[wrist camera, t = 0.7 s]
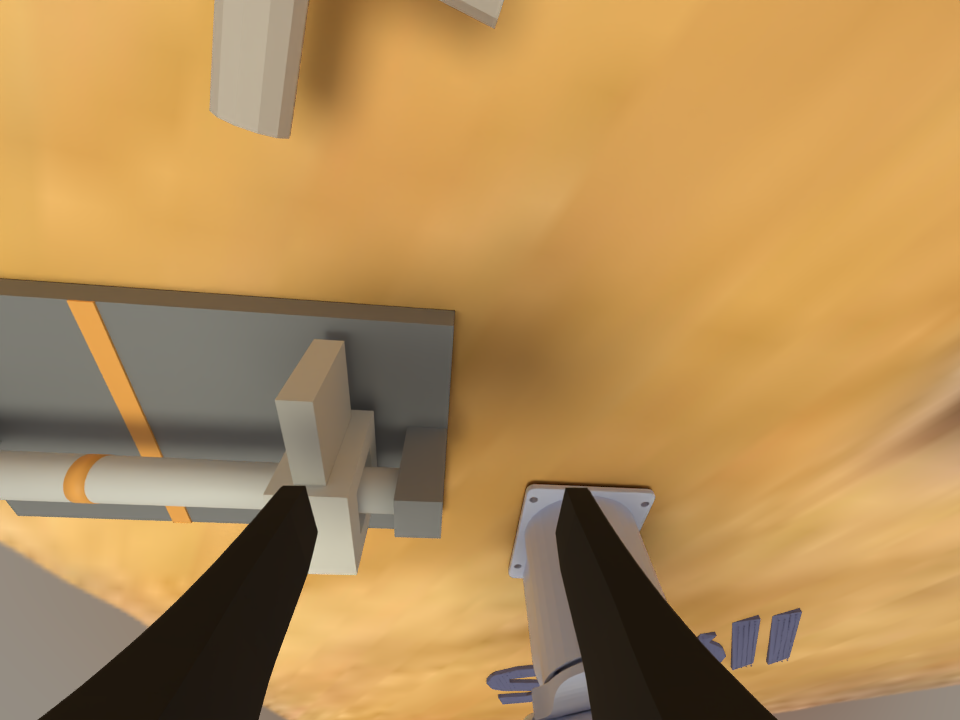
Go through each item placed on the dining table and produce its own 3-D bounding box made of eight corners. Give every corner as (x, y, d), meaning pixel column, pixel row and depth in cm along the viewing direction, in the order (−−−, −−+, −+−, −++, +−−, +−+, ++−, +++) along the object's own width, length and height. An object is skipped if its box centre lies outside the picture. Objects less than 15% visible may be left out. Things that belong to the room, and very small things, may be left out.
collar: (378, 483, 22) (356, 575, 18) (320, 481, 22) (285, 573, 18) (368, 336, 17) (336, 413, 13) (295, 331, 17) (238, 408, 13)
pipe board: (442, 509, 26) (436, 607, 21) (40, 494, 25) (-70, 596, 20) (454, 310, 19) (449, 388, 14) (-119, 270, 17) (-362, 341, 12)
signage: (503, 707, 43) (474, 668, 38) (503, 699, 44) (474, 659, 38) (791, 664, 39) (802, 613, 34) (786, 655, 40) (797, 604, 34)
